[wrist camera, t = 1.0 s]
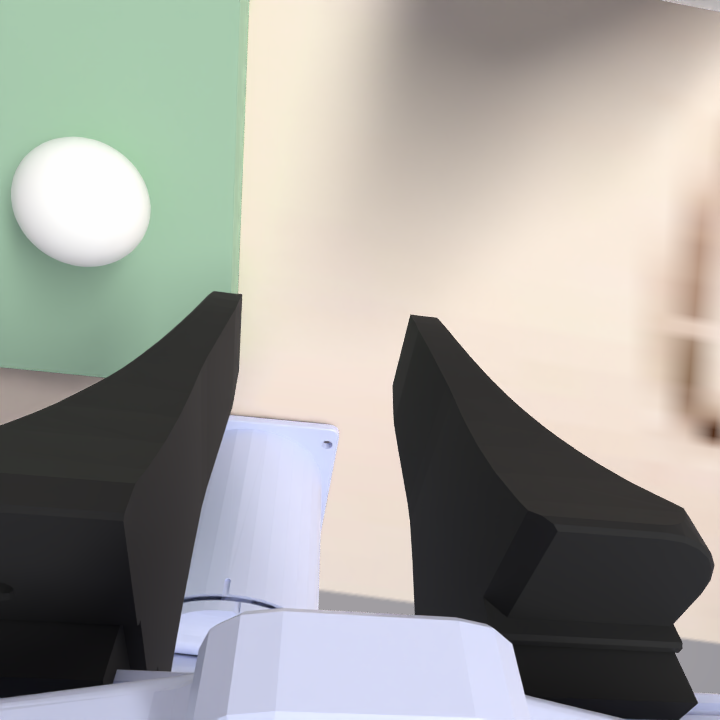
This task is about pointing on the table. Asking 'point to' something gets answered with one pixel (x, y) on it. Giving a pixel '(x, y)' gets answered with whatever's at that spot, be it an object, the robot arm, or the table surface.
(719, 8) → the medicine bottle
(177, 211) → the deck
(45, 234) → the ball
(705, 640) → the table surface
